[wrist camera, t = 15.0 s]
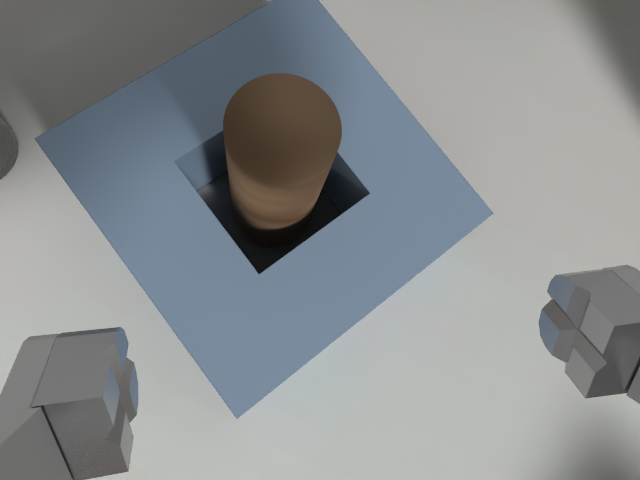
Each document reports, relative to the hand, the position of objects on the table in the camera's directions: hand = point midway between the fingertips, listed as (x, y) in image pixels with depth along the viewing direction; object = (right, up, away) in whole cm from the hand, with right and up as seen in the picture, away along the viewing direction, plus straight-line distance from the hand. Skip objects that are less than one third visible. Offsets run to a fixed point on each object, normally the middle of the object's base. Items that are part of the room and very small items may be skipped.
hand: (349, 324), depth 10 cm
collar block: (-3, +3, +17) cm, 18 cm away
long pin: (-3, +3, +17) cm, 18 cm away
